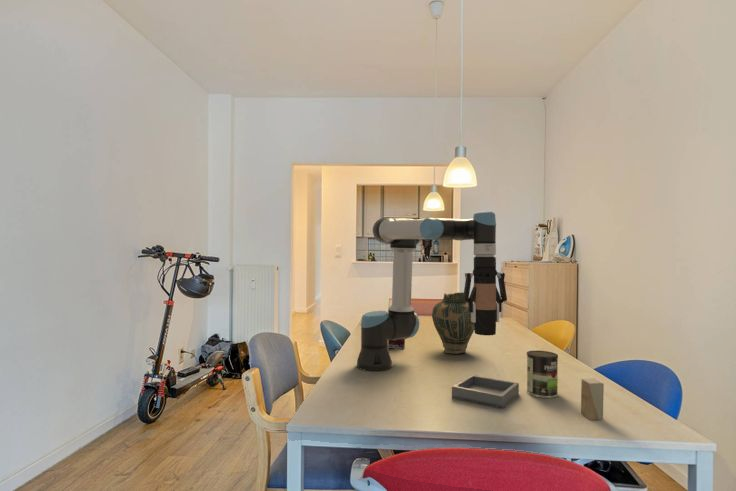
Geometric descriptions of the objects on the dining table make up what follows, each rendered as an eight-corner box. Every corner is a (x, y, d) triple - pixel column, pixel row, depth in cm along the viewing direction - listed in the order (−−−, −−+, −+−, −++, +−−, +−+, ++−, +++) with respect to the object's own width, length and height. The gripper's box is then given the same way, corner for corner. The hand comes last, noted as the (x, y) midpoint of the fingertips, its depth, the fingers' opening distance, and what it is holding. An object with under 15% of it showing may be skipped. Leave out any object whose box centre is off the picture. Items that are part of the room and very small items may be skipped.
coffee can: (564, 395, 153) (564, 355, 153) (543, 400, 148) (543, 358, 148) (540, 387, 162) (540, 349, 162) (520, 391, 157) (520, 351, 157)
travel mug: (481, 336, 147) (481, 276, 148) (469, 332, 155) (469, 275, 155) (501, 334, 150) (500, 276, 150) (488, 331, 157) (487, 275, 158)
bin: (451, 398, 149) (451, 386, 149) (471, 385, 164) (471, 374, 164) (502, 409, 139) (502, 396, 139) (518, 394, 153) (518, 383, 153)
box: (580, 414, 135) (580, 378, 136) (593, 413, 136) (593, 377, 136) (590, 420, 130) (590, 383, 130) (604, 420, 131) (604, 382, 131)
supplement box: (388, 348, 223) (388, 317, 223) (388, 346, 228) (388, 316, 228) (405, 349, 222) (405, 318, 222) (405, 347, 227) (405, 316, 227)
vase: (482, 358, 205) (482, 294, 205) (435, 357, 205) (435, 293, 206) (472, 347, 227) (472, 289, 228) (429, 347, 227) (429, 289, 228)
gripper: (459, 256, 148) (459, 323, 148) (517, 256, 150) (518, 323, 149) (452, 256, 156) (453, 320, 155) (508, 256, 157) (509, 319, 157)
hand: (485, 321), depth 152 cm, fingers closed on travel mug, 8 cm apart
